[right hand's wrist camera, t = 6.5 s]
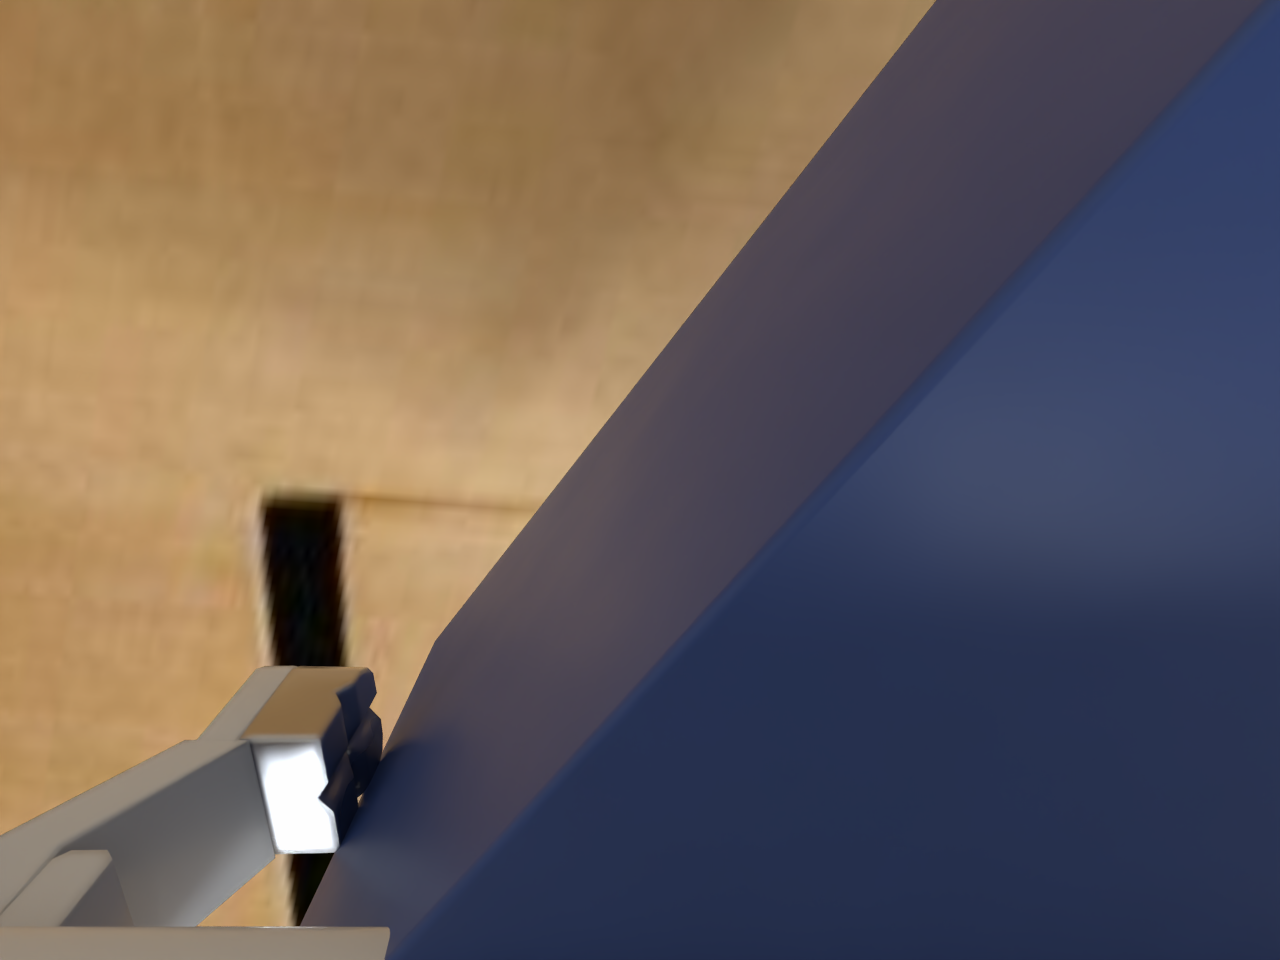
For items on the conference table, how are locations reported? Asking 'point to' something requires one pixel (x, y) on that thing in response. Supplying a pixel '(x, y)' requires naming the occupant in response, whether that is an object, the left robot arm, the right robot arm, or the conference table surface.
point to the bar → (904, 554)
